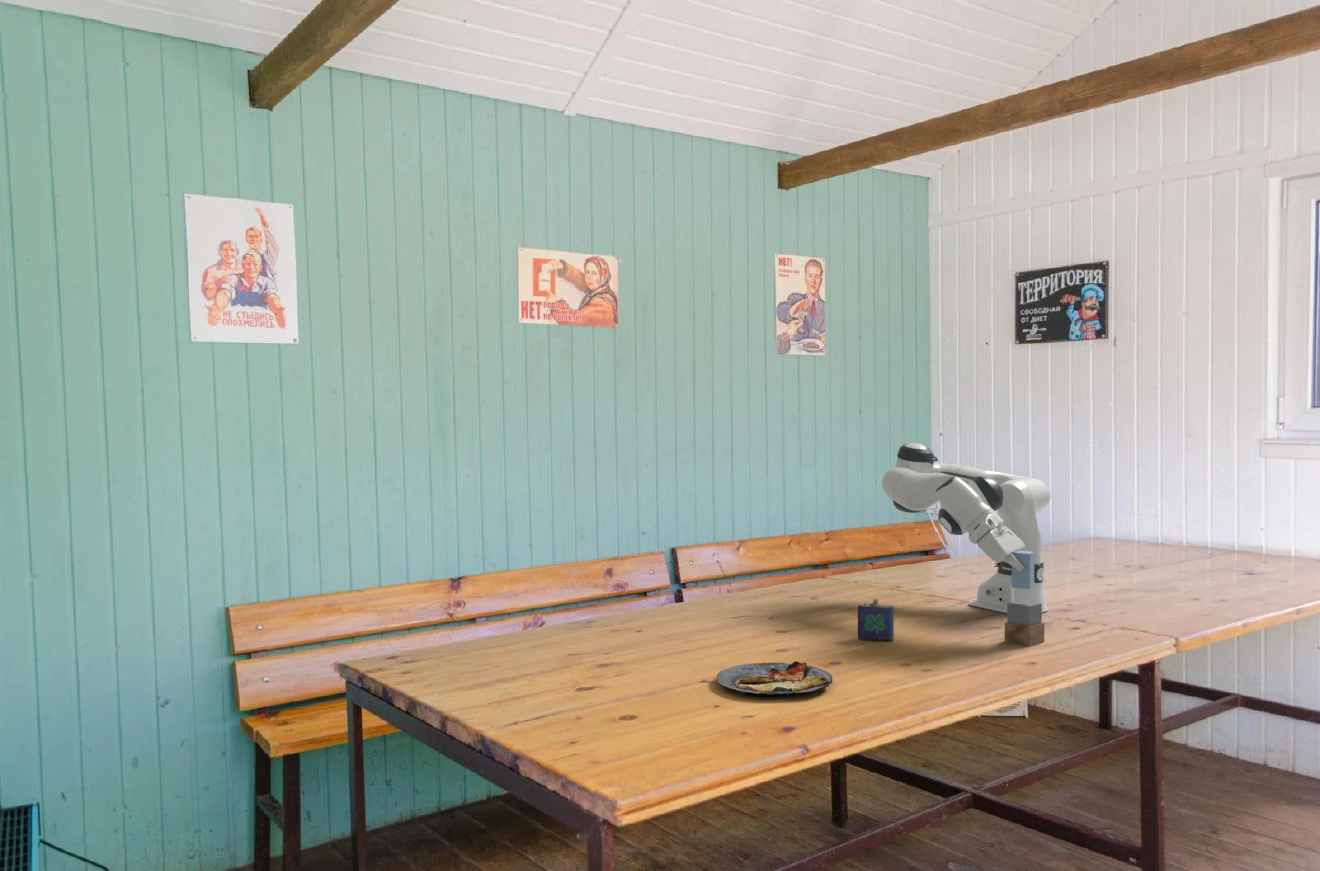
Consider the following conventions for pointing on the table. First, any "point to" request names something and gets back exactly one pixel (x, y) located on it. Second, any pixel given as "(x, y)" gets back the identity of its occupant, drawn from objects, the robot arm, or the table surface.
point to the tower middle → (1024, 613)
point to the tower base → (1024, 634)
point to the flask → (875, 622)
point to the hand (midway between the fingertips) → (1025, 568)
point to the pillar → (1024, 570)
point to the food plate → (775, 678)
